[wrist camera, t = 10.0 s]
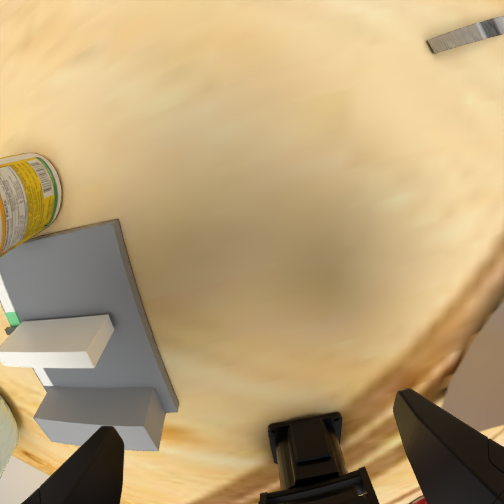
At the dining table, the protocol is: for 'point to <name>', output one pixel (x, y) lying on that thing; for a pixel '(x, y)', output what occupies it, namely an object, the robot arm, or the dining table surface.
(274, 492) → the robot arm
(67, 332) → the gauge paddle
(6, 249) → the supplement bottle
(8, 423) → the vase
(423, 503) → the soda can
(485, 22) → the caliper
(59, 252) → the gauge base
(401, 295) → the dining table surface
